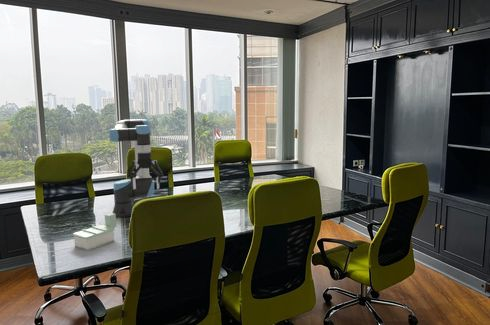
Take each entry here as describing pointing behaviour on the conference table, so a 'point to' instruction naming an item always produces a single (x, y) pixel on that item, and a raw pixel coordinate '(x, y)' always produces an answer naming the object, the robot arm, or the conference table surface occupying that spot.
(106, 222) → the lid
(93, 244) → the tub
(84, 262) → the conference table surface
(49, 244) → the conference table surface
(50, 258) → the conference table surface
